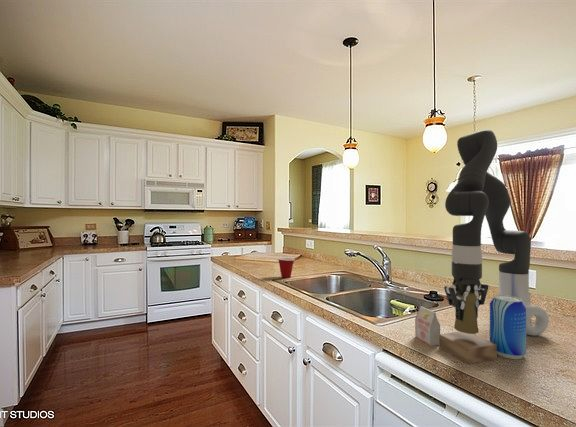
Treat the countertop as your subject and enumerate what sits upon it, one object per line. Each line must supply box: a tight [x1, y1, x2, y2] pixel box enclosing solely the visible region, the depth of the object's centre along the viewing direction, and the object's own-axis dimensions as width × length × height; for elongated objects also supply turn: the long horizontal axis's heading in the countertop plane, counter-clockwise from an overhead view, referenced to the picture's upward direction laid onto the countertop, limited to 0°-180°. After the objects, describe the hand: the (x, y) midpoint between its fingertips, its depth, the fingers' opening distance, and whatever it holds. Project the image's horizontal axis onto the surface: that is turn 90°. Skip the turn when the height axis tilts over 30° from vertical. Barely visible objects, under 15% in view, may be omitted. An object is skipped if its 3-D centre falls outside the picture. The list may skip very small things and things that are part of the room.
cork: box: [453, 293, 479, 335], centre depth 86 cm, size 6×6×11 cm
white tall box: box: [414, 305, 441, 347], centre depth 94 cm, size 4×7×10 cm, turn 15°
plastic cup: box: [277, 257, 296, 279], centre depth 187 cm, size 11×11×12 cm
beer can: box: [489, 294, 527, 360], centre depth 86 cm, size 8×8×16 cm
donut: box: [526, 304, 550, 337], centre depth 98 cm, size 10×4×10 cm, turn 95°
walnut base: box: [438, 331, 498, 365], centre depth 86 cm, size 10×10×4 cm
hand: (466, 320), depth 86 cm, fingers closed on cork, 3 cm apart
